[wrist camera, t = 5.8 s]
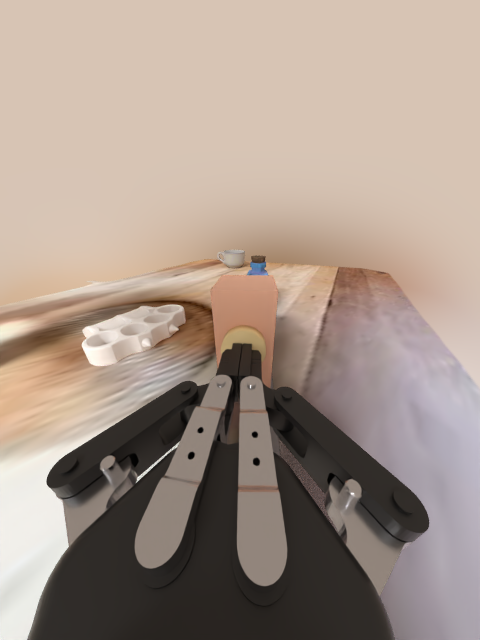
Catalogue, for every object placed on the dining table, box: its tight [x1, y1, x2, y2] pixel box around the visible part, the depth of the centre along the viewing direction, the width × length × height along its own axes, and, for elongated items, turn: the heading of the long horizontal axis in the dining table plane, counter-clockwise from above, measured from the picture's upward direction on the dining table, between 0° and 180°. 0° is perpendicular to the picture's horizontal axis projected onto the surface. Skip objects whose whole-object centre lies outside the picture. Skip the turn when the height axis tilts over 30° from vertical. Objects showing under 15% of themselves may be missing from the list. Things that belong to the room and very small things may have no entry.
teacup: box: [217, 250, 245, 268], centre depth 93 cm, size 14×11×8 cm
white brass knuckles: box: [82, 305, 186, 366], centre depth 34 cm, size 3×18×15 cm
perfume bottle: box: [247, 256, 268, 275], centre depth 42 cm, size 6×6×12 cm
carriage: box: [210, 275, 278, 388], centre depth 17 cm, size 6×5×11 cm
